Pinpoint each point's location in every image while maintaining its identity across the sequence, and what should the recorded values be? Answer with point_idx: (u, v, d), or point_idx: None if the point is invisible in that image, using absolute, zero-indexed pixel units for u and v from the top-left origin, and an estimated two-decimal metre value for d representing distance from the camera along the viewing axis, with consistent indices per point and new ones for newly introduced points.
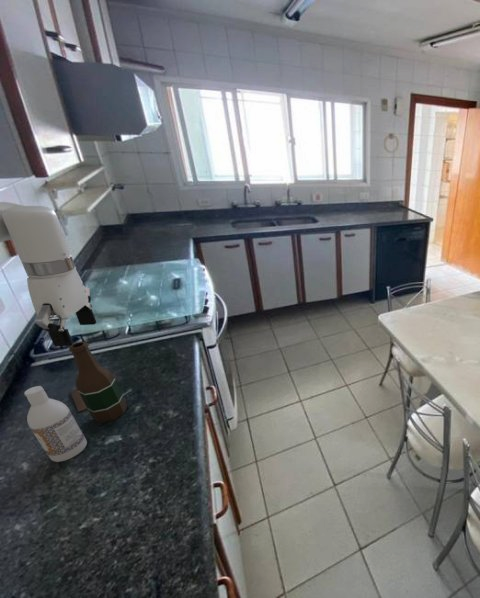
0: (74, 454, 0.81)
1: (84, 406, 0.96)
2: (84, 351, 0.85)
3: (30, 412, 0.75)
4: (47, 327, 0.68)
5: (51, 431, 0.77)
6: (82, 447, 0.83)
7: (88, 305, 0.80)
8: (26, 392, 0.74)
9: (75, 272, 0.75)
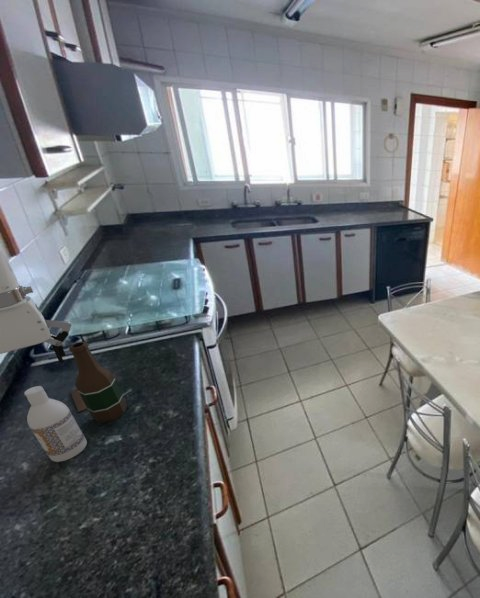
0: (74, 454, 0.81)
1: (84, 406, 0.96)
2: (84, 351, 0.85)
3: (30, 412, 0.75)
4: None
5: (51, 431, 0.77)
6: (82, 447, 0.83)
7: (53, 342, 0.73)
8: (26, 392, 0.74)
9: (24, 309, 0.67)
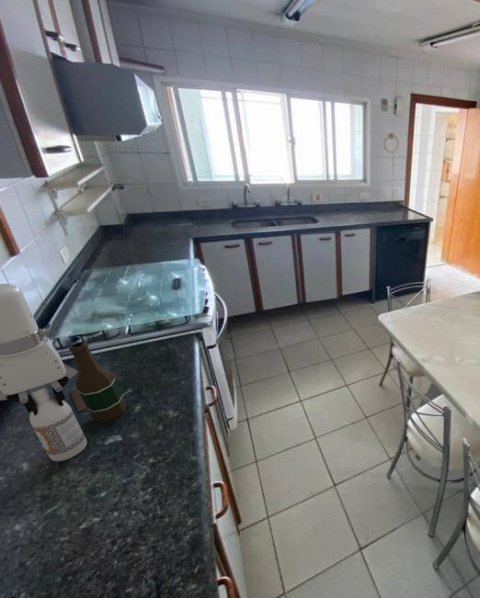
0: (74, 454, 0.81)
1: (84, 406, 0.96)
2: (84, 351, 0.85)
3: None
4: (6, 398, 0.71)
5: (53, 430, 0.77)
6: (82, 447, 0.83)
7: (54, 388, 0.76)
8: (30, 390, 0.74)
9: (42, 350, 0.72)
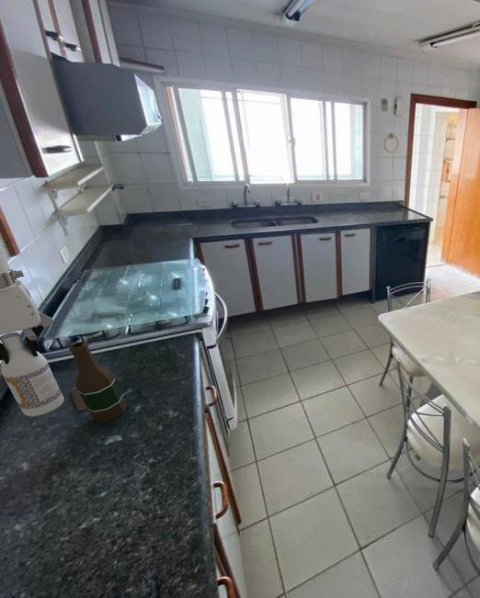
0: (49, 409, 0.77)
1: (84, 406, 0.96)
2: (84, 351, 0.85)
3: None
4: None
5: (26, 382, 0.72)
6: (58, 403, 0.78)
7: (27, 336, 0.71)
8: (1, 337, 0.70)
9: (14, 293, 0.67)
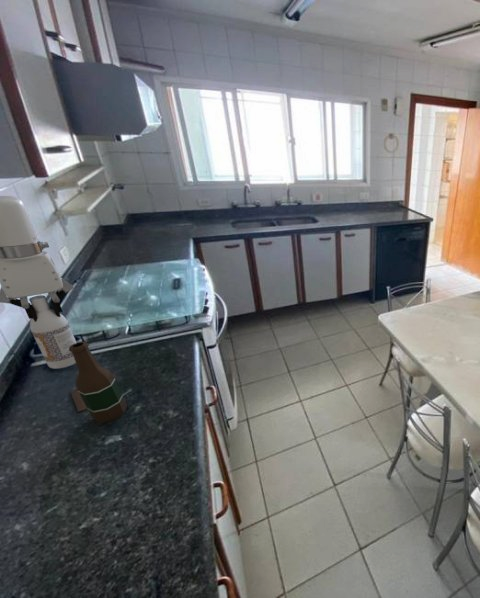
0: (70, 363, 0.90)
1: (84, 406, 0.96)
2: (84, 351, 0.85)
3: None
4: (9, 302, 0.80)
5: (51, 337, 0.86)
6: None
7: (52, 299, 0.85)
8: (31, 298, 0.83)
9: (42, 260, 0.81)
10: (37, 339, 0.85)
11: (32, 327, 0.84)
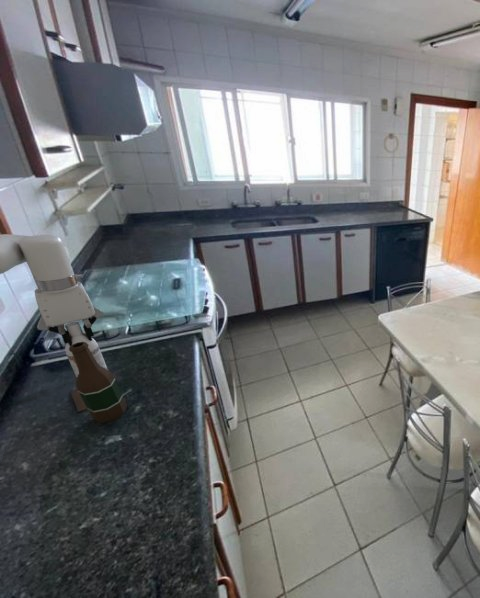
0: None
1: (84, 406, 0.96)
2: (84, 351, 0.85)
3: None
4: (48, 329, 0.88)
5: None
6: None
7: (85, 325, 0.93)
8: (66, 325, 0.91)
9: (77, 291, 0.89)
10: (71, 361, 0.93)
11: (67, 351, 0.92)
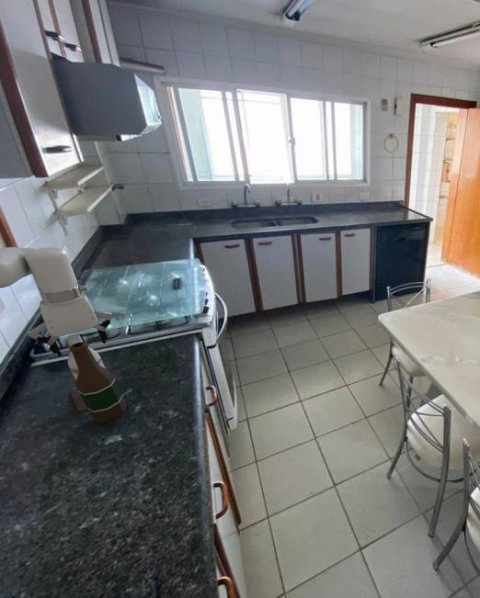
0: None
1: (84, 406, 0.96)
2: (84, 351, 0.85)
3: (70, 355, 0.93)
4: (36, 339, 0.87)
5: None
6: None
7: (99, 328, 0.96)
8: (68, 338, 0.92)
9: (81, 302, 0.90)
10: (74, 374, 0.95)
11: (70, 364, 0.93)
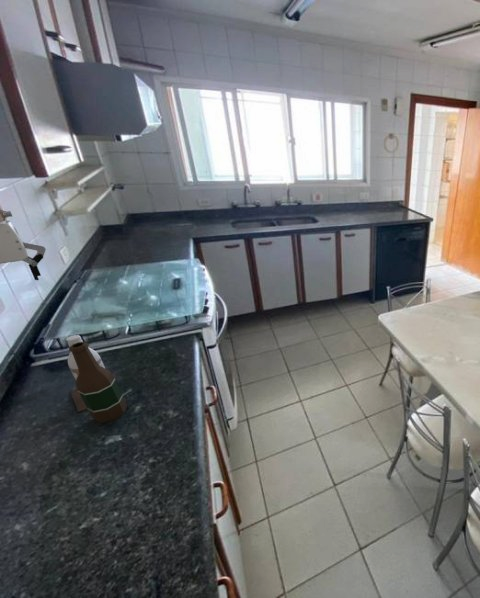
0: None
1: (84, 406, 0.96)
2: (84, 351, 0.85)
3: (70, 355, 0.93)
4: None
5: None
6: None
7: (30, 262, 0.87)
8: (67, 338, 0.92)
9: (4, 229, 0.81)
10: (74, 374, 0.95)
11: (70, 364, 0.93)
